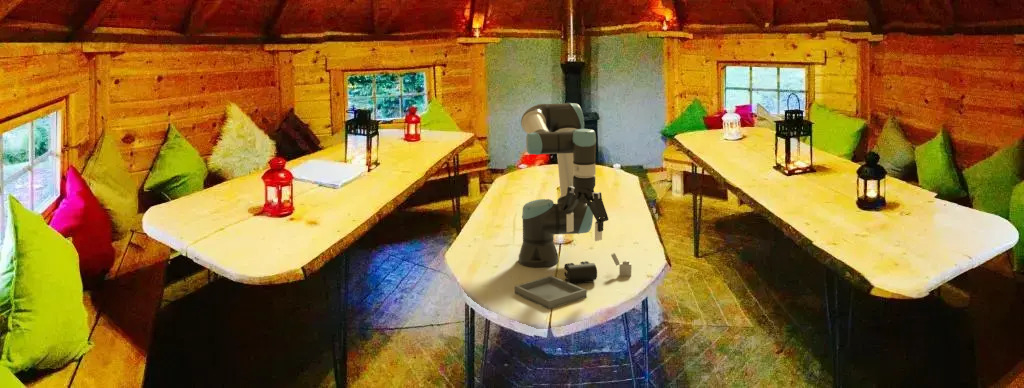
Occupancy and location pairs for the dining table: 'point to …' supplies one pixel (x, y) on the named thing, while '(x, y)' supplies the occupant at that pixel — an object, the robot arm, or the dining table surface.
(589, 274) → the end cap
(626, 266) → the lighter
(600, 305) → the dining table surface
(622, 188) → the dining table surface
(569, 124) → the robot arm
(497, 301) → the dining table surface
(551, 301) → the seat tray
